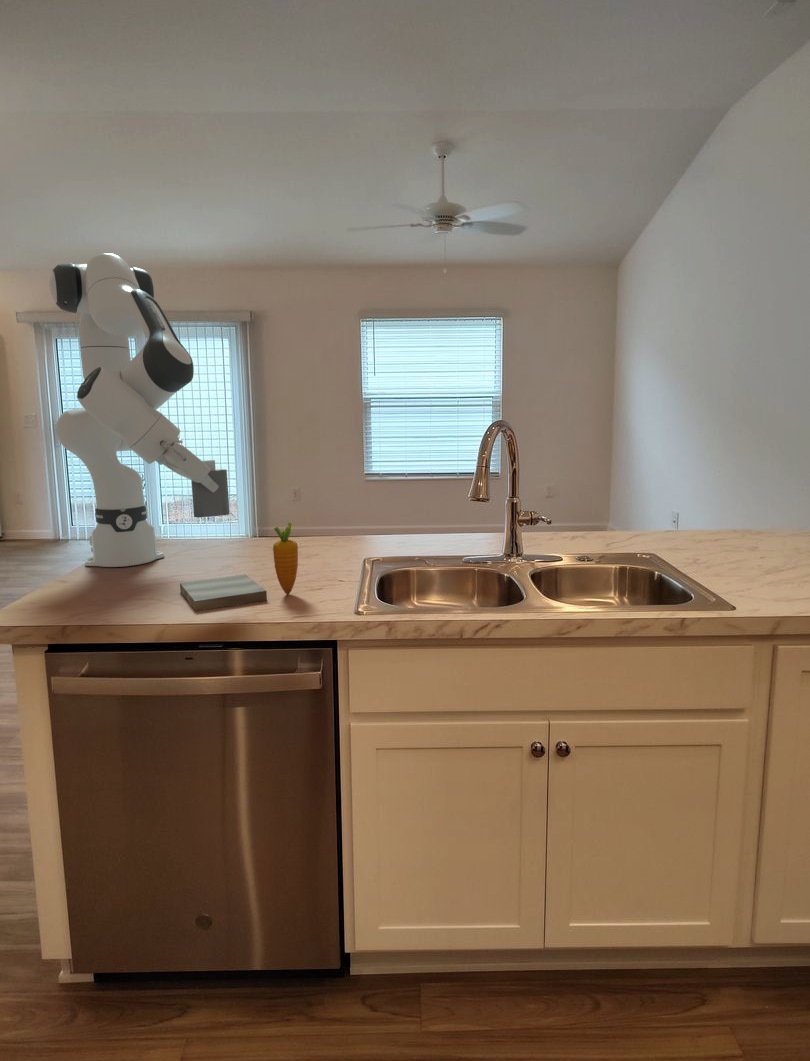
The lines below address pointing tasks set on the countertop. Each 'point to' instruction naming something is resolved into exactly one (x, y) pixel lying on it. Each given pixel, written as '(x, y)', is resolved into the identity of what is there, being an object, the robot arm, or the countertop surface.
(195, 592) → the striped sage slab
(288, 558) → the carrot
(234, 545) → the countertop surface
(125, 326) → the robot arm
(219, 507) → the block
